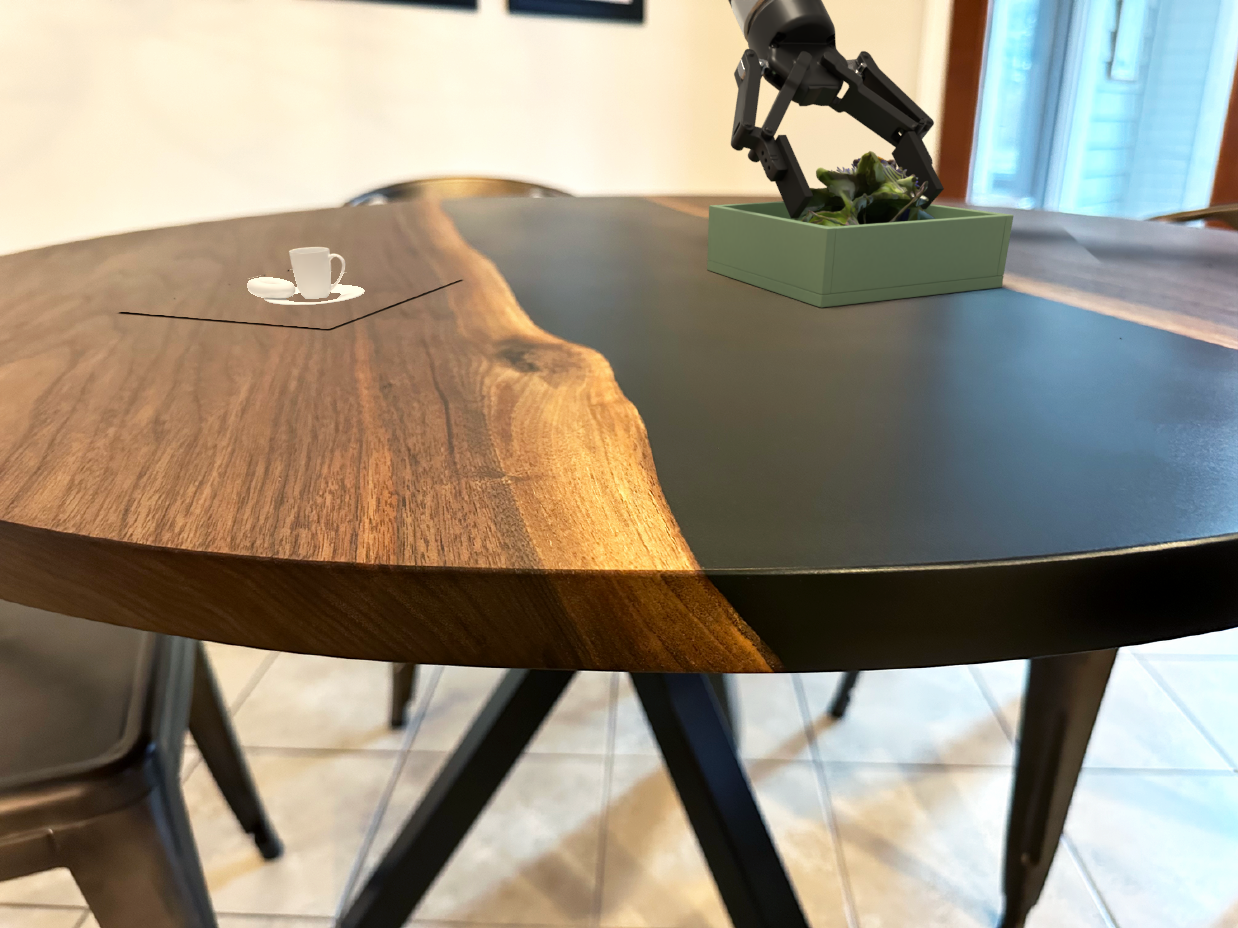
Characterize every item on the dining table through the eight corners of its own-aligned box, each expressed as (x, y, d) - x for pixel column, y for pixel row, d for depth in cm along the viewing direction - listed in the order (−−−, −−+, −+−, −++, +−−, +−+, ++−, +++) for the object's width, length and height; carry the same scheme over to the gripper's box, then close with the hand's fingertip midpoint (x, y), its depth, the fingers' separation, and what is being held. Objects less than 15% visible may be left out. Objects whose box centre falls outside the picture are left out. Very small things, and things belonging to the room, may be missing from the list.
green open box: (863, 255, 88) (870, 196, 85) (1002, 287, 72) (1014, 214, 69) (706, 269, 81) (708, 205, 79) (820, 307, 65) (827, 228, 63)
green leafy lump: (860, 311, 81) (948, 205, 76) (864, 324, 70) (966, 203, 66) (767, 241, 81) (849, 131, 77) (758, 243, 71) (852, 117, 66)
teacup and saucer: (235, 306, 68) (225, 255, 66) (299, 287, 75) (292, 241, 73) (326, 313, 65) (318, 260, 63) (384, 293, 72) (378, 245, 70)
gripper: (870, 57, 86) (955, 223, 80) (651, 54, 78) (725, 240, 71) (912, -8, 80) (1008, 167, 73) (677, -19, 71) (762, 179, 64)
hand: (869, 204), depth 72 cm, fingers open, 13 cm apart
